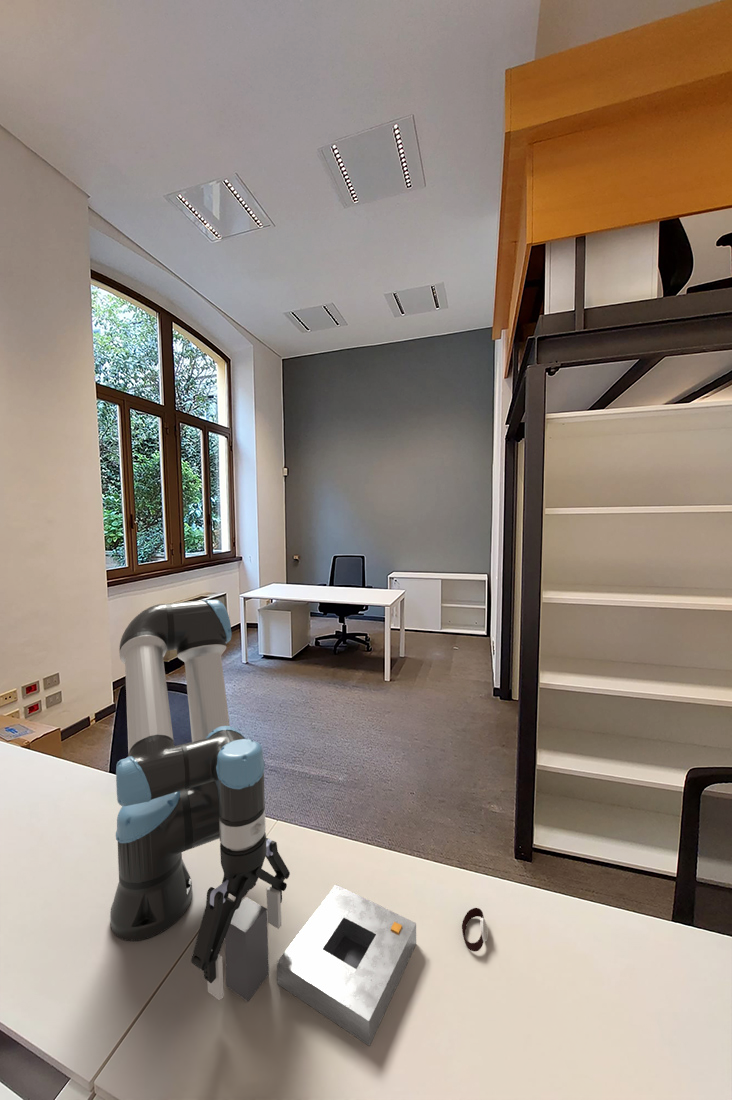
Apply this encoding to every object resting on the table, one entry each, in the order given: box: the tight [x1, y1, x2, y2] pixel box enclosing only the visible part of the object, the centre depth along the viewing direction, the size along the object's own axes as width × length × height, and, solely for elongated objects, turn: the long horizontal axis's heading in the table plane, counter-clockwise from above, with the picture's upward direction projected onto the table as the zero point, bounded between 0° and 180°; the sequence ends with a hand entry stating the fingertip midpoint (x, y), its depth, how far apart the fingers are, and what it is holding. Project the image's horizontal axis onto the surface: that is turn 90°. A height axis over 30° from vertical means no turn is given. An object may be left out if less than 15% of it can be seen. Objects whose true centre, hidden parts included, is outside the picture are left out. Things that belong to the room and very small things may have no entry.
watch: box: [461, 907, 488, 952], centre depth 81 cm, size 8×5×4 cm, turn 160°
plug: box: [224, 896, 270, 1003], centre depth 73 cm, size 5×5×12 cm
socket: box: [276, 884, 417, 1047], centre depth 76 cm, size 18×18×4 cm
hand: (247, 956), depth 73 cm, fingers open, 13 cm apart
